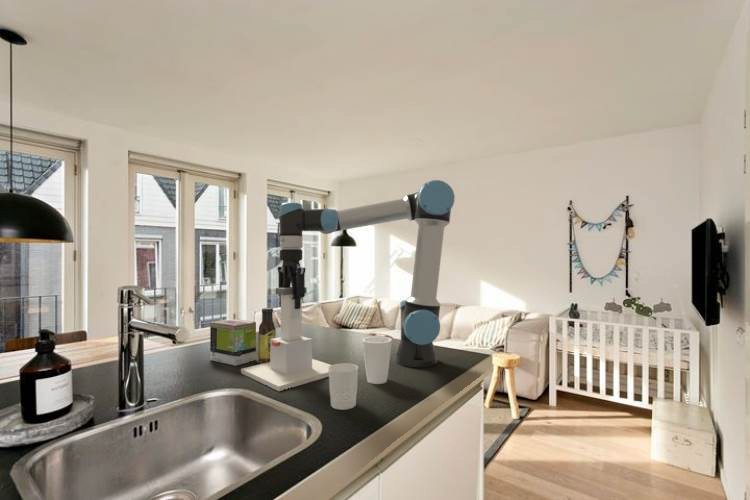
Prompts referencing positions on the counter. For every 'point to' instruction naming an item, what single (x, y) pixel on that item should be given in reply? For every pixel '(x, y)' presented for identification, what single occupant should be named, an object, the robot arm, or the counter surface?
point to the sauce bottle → (265, 335)
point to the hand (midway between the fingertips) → (291, 317)
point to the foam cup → (377, 358)
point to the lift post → (289, 316)
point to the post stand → (288, 365)
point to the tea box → (233, 341)
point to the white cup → (343, 385)
